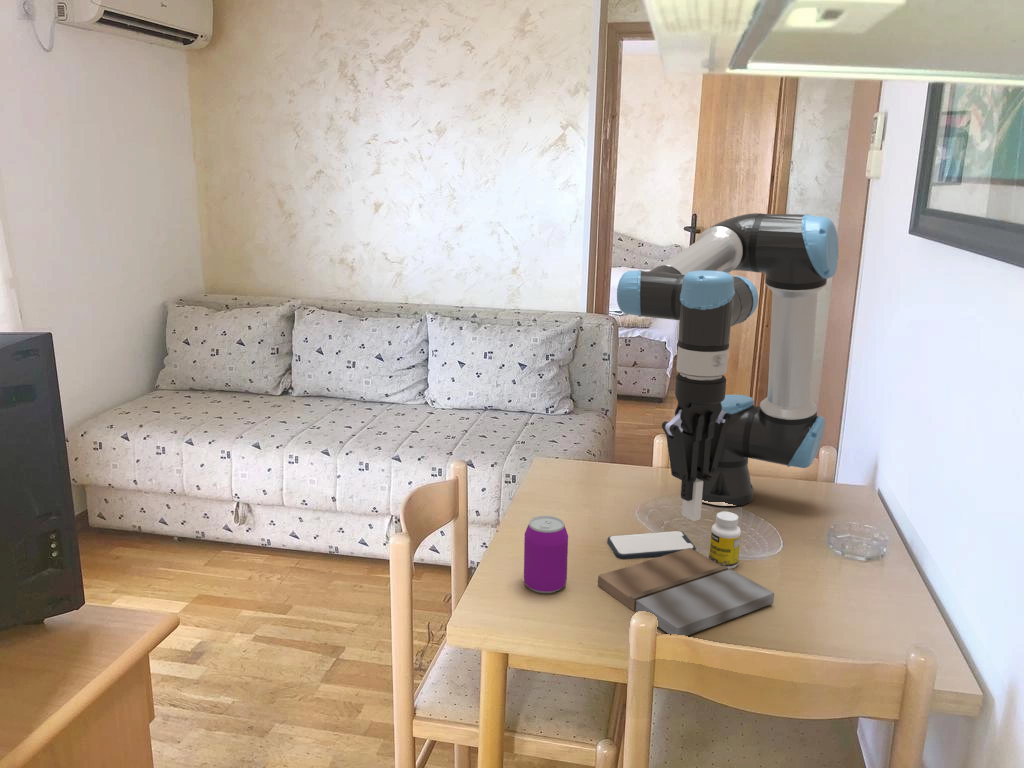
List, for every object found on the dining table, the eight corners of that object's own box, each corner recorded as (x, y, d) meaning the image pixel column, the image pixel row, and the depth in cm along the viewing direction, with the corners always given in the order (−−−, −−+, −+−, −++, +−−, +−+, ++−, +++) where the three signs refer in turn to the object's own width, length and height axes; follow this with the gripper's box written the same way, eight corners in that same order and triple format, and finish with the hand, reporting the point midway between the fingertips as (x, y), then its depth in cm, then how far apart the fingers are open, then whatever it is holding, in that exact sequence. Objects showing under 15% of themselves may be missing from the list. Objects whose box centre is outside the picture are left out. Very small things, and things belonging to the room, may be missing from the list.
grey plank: (729, 579, 145) (730, 569, 145) (773, 603, 137) (774, 592, 137) (635, 611, 134) (636, 600, 134) (676, 639, 126) (677, 628, 125)
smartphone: (618, 563, 153) (697, 556, 155) (618, 555, 152) (698, 549, 155) (605, 542, 161) (681, 536, 164) (605, 535, 161) (681, 529, 163)
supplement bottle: (703, 563, 152) (707, 515, 149) (717, 553, 156) (721, 507, 153) (729, 573, 148) (733, 524, 146) (743, 563, 152) (747, 515, 150)
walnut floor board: (689, 557, 154) (689, 546, 154) (727, 579, 146) (728, 567, 145) (597, 585, 143) (598, 573, 142) (633, 611, 135) (634, 598, 134)
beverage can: (532, 571, 148) (534, 511, 145) (572, 579, 145) (574, 518, 142) (517, 590, 141) (518, 527, 138) (558, 599, 138) (560, 535, 135)
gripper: (686, 385, 115) (676, 535, 121) (750, 374, 122) (737, 516, 128) (652, 374, 121) (644, 517, 127) (714, 363, 128) (703, 500, 134)
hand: (690, 516), depth 128 cm, fingers closed
